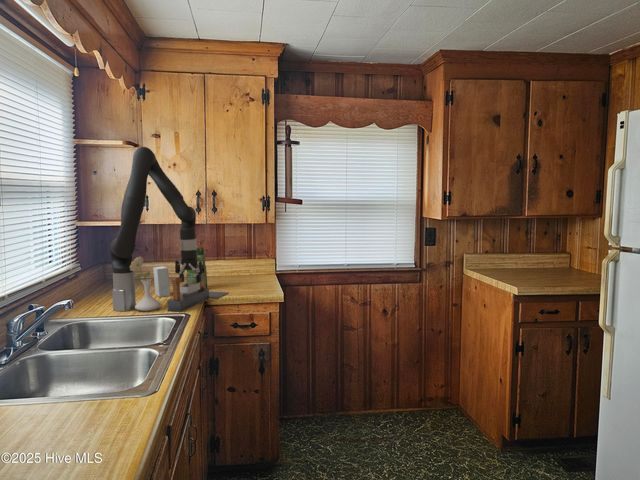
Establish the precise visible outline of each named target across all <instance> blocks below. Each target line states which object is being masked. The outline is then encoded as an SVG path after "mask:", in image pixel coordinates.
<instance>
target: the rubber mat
mask: <svg viewBox="0 0 640 480" xmlns="http://www.w3.org/2000/svg"><path fill="white" fill-rule="evenodd" d="M228 293H229V292H225V291H224V292H223V291H210V290H209V299H216V300H217V299H218V300H219V299H220V298H223V297H224V295H225V296H227V295H229V294H228ZM226 294H227V295H226ZM222 296H223V297H222Z"/></svg>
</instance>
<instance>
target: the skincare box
mask: <svg viewBox="0 0 640 480" xmlns="http://www.w3.org/2000/svg"><path fill="white" fill-rule="evenodd" d="M152 269H153V282H154V294H155V296H157V297H159V298H162V297H169V296H170V297H171V288H170V275H169V267H167V266H163V265H161V266H155V267H153V268H152Z"/></svg>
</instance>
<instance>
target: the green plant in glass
mask: <svg viewBox="0 0 640 480" xmlns="http://www.w3.org/2000/svg"><path fill="white" fill-rule="evenodd" d="M197 261H203V262H204V270H205V273H203V274H201V281H204V289H208V276H207V275H208V274H207V273H208V272H207V266H206V253H205V248H204V246H203V245H197ZM197 267H198V268H199V265H198V264H197ZM195 269H196V268H195ZM185 274H186V275H185V278H186V279H185V280H186V284H187V283H197V280H196V275H197V274H196V273H195V272H194V271H193V270H186V273H185Z"/></svg>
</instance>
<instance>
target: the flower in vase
mask: <svg viewBox="0 0 640 480" xmlns="http://www.w3.org/2000/svg"><path fill="white" fill-rule="evenodd" d="M132 261H133V262H132V264H131V265H130V267H129V268H131V269H130V270H131V271H134V272H136V271H138V270H139V269H140V272H141V273H138V274H137V275H136V276H135V280H137V279H141V278H142V277H143V278H144V279H141V280H140V282H141V283H142V284H143V289H144V295H143V297H142V298H141V299H139V301H137V302H136V305H135V310H138V311H142V312H143V311H145V312H146V311H147V312H148V311H153V310H157V309H158V308H160V307H161V306H162V303H161V302H160V301H158V299H156V298H154V297H153V296H152V295H151V288H150V287H151V283H152V281H153V279H152V278H148V277H151V271H148V272H146V273H143V270H142V268H141V267H142V266H143V263H144V257H142V256H141V255H140V256H138V257H135V258H134V259H133V260H132Z"/></svg>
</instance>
